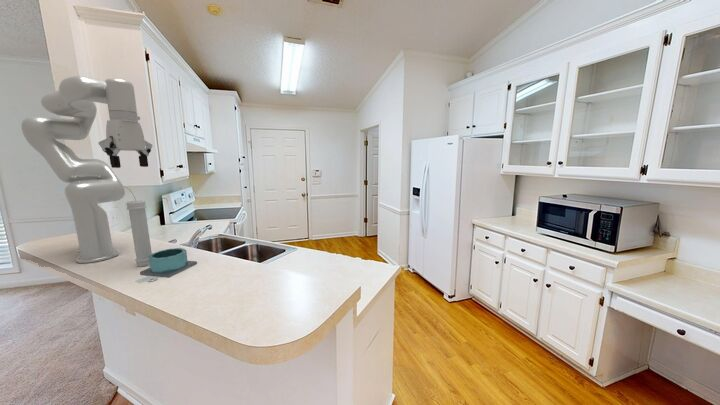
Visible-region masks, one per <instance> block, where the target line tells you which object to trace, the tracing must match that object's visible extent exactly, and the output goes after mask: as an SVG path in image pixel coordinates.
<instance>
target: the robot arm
mask: <svg viewBox="0 0 720 405" xmlns="http://www.w3.org/2000/svg"><path fill="white" fill-rule="evenodd" d="M40 103H41V106H42V107H43V109H44V110H46V111H47V112H48V113H51V114H53V115H56V116H60V117H55V116H54V117H53V116H46V115H45V116H44V115H42V116H41V115H40V116H39V115H37V116H36V115H35V116H33V115H32V116H29V117H25V118H24V119H23V120H22V122H21V131H22V134H23V137H24V138H25V140H26V142H27V143H28V144H29V145H30V146H31V147H32V149H34V150H35V151H36V152H38V153H39V154H40V155H41V156H42V157H43V158H44V160H45V162H47V164H48V165H49V166H50V167H49V168H51V170H52V171H53V172H54V174H55V175H56V176H57V178H58V179H59V180H60V181H61V182H63V183H66V184H67V183H68V184H67V185H66V186H65V187H64V195H65V197H66V200H67V202H68V204H69V206H70V208H71V210H70V211H71V213H72V217H73V222H74V226H75V231H76V232H75V233H76V236H77V243H78V246H79V249H77V250H76V252H77V253H79V254H80V256H78V257H76V258H75V262H76V263H78V264H89V263H97V262H100V261H105V260H109V259H112V258H114V257H116V256H118V255H119V253H120V252H119V250H117V249H114V247H113V241H112V235H111V230H110V224H109V217H108V214H107V212H106V211H105V210H104V208H102V207H101V206H100V204H104V203H110V202H117V201H120V200H122V199H123V198H124V197H125V193H126V191H125V187H124V185H123V183H122V182H121V180H120V179H119V178H118V176H117V175H116V174H115V172H114V171H113V169H120V168H121V166H122V165H121V160H120V156H119V153H120V152H121V151H126V152H127V151H128V152H129V151H131V152H132V151H134V152H136V153H138V163H139V166H140V167H142V168H143V167H144V168H147V167H149V161H148V157H149V155H150V153H151V152H152V148H153V144H152V143H151V142H148V141H147V140H145V136H144V132H143V128H142V125H141V123H140V122H139V121H140V120H141V116H139V115H138V110H137V102H136V95H135V87H134V84H133V83H132V82H130V81H128V80H125V79H121V78H111V77H110V78H107V79H105V80H102V79H96V78H92V77H87V76H80V75H74V76H69V77H67V78H64V79H62V80H61V81H60V83H59V86H58V89H57V90H55V91H51V92H48V93H46V94H45V95H43V96H42V97H41V100H40ZM95 103H100V104H107V110H108V116H109V119H108V120H107V121H106V124H105V125H106V128H105V131H106V132H105V136H106V138H105V139H103V140H100V141H98V145H99V147H100V148H101V149H102V151H103V152H104V153H105V154H106V155H107V156H108V157H109V163H110V166H109V164H108V163H106V162H105V161H103V160H101V159H96V158H81V157H78V155H76V153H75V152H74V151H73V150H72V149H71V147H69V146H67V145H66V144H64V143H62V142H60V141H58V140H64V141H65V140H68V141H69V140H70V141H81V140H85V139H86V138H87V137H88V135H89V134H90V131H91V129H92V126H93V123H94V122H95V118H96V115H97V106H96V104H95ZM61 116H62V117H61ZM64 117H71V118H64ZM72 117H73V118H72Z"/></svg>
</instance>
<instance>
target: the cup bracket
mask: <svg viewBox="0 0 720 405" xmlns="http://www.w3.org/2000/svg"><path fill="white" fill-rule="evenodd" d="M148 259H149V265H148V266H149V268H146V269H143V270H141V271H139V274H140V276H158V277H161V278H171V277H172V276H173V277H174V276H175V275H177V274H178V273H182V272H183V271H185V270H187V269H189V268H192V267H195V265H198V261H197V260H188V254H187V249H186V248H180V247H178V248H177V247H176V248H167V249H162V250H158V251H156V252H152V254H151V255H150V256H148Z"/></svg>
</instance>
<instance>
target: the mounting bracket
mask: <svg viewBox="0 0 720 405" xmlns="http://www.w3.org/2000/svg"><path fill="white" fill-rule="evenodd" d="M160 278H162V277H158V276H149V275H146V276H144V277H142V278H140V279H139V278H138V279H137V280H135V283H138V284H143V283H146V282H147V283H154V282H156V281H158V279H160Z"/></svg>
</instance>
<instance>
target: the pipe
mask: <svg viewBox="0 0 720 405" xmlns="http://www.w3.org/2000/svg"><path fill="white" fill-rule="evenodd" d="M123 187H124V188H126V189H128V190H129V192H130V193H131V194H132V195H133V197H134V200H132V201H127V202H126V210H128V213H129V214H128V215H129V221H130V225H131V226H130V227H131V233H132V238H133V246H134V253H135V257H136V258H135V259H134V261H135V265H136V267H148V266H150V265H149V259H148V256H150V255H151V254H152V253H153V252H152V247H151V239H150V232H149V225H148V220H147V213H146V209H147V204H146V201H145V200H137V198H136V196H135V194H134V192H133V191H132V190H131V189H130V188H128V187H127V186H124V185H123Z"/></svg>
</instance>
